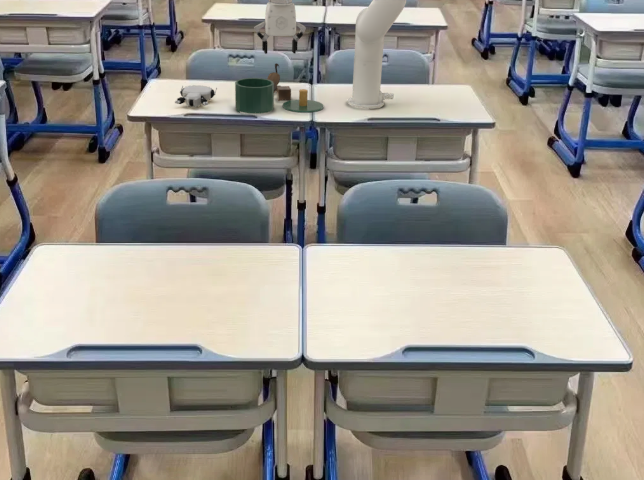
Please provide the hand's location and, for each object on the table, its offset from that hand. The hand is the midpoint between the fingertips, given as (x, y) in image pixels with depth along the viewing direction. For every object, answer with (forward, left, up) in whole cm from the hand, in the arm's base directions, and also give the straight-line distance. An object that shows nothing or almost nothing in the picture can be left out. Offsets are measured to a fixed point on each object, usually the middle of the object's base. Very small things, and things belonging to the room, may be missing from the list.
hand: (279, 52), depth 274 cm
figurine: (0, -15, -17) cm, 22 cm away
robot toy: (+29, +1, -17) cm, 33 cm away
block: (-2, -1, -16) cm, 16 cm away
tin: (+10, +10, -16) cm, 22 cm away
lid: (-7, +10, -16) cm, 20 cm away
